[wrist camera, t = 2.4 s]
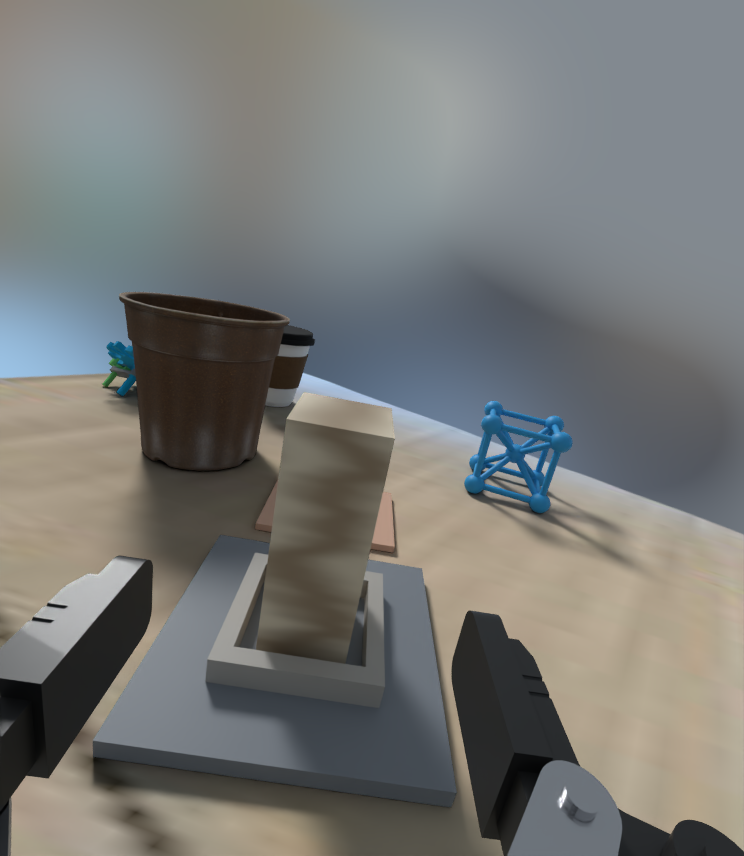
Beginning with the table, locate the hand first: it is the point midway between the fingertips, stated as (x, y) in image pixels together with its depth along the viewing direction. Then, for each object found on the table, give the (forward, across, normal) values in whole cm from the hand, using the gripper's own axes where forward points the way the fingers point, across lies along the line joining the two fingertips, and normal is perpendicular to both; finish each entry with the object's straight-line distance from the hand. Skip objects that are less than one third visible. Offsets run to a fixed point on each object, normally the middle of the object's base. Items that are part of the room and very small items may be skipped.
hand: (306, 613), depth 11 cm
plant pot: (+38, +16, +13) cm, 43 cm away
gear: (+53, +32, +13) cm, 63 cm away
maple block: (+12, 0, +12) cm, 17 cm away
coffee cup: (+60, +13, +13) cm, 63 cm away
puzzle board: (+12, 0, +13) cm, 18 cm away
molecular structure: (+42, -21, +13) cm, 48 cm away
